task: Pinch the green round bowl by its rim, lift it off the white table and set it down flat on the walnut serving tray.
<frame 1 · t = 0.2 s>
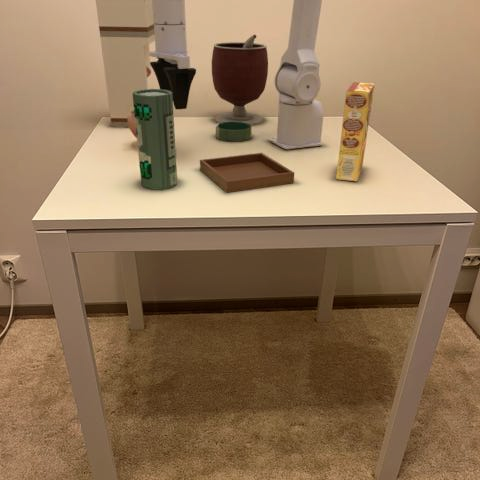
hand: (174, 104, 96), 10 cm above the table, tool pointing down, fingers open, 7 cm apart
candy box: (348, 174, 94), on the table
green round bowl: (233, 137, 115), on the table
decorative fruit: (150, 146, 108), on the table
striped cream pillar: (137, 122, 125), on the table
mate gourd: (240, 121, 128), on the table
tray: (245, 176, 92), on the table
can: (159, 184, 88), on the table
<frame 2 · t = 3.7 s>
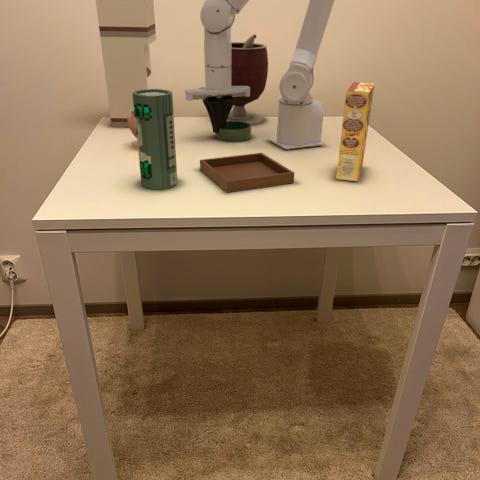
hand: (218, 132, 112), 1 cm above the table, tool pointing down, fingers closed on green round bowl, 1 cm apart
green round bowl: (233, 136, 114), on the table, touching gripper
everything else where it was.
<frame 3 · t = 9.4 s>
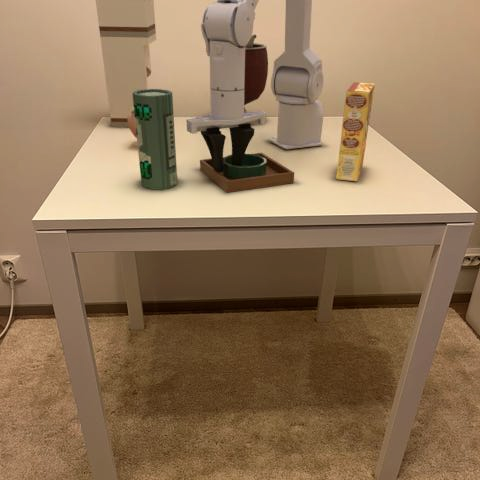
hand: (227, 169, 90), 2 cm above the table, tool pointing down, fingers open, 3 cm apart
green round bowl: (244, 173, 92), resting on tray
everything else where it was.
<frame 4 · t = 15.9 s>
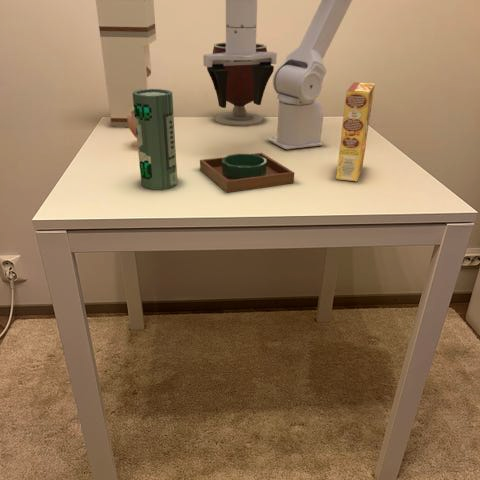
hand: (239, 105, 99), 9 cm above the table, tool pointing down, fingers open, 7 cm apart
nothing on the table moved.
at the end: green round bowl inside the target area in the tray (0.3 cm from its centre), point 0.4 cm above the tray's base; green round bowl tilted 0°; the gripper is holding nothing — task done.
